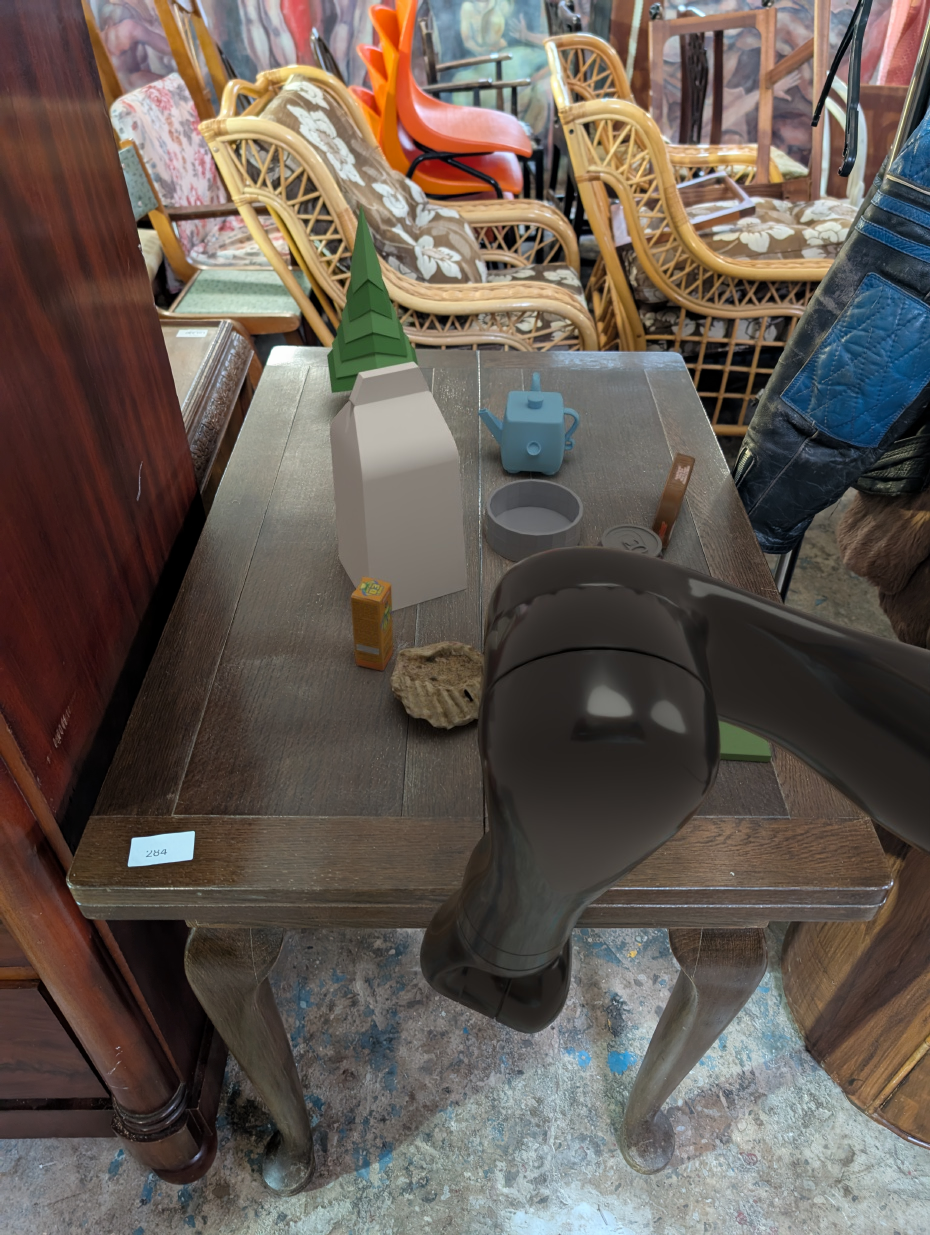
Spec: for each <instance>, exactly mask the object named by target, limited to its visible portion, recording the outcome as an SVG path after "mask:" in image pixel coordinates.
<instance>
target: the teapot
mask: <svg viewBox="0 0 930 1235" xmlns="http://www.w3.org/2000/svg"><path fill="white" fill-rule="evenodd" d="M529 388H530V389H529V390H511V391H509V393H508V395H507V400H506V404H505V409H504V414H503V418H502V420H500V419H499V418H498V417H497V416H496V415H494V413H493V412H491V410H489V409H488V407H486V408H481V409H478V412H477V414H478V416H479V417H480V419H481V421H482V422H483V424H484V426H486V428H487V429H488V431H489V432H490V434H491V435H492V437H493V438H494V440H495V441H496V443H497V445H499V446H500V447H499V448H500V459H501V463H502V467H503V469H504V470H505V471H506V472H508V473H510V474H518V473H520V472H521V471H522V472H541V474H543V475H546V476H552V475H554V474H556V473H557V472H559V471H560V469H561V467H562V464H563V460H564V454H565V451H571V450H572V449H574V447H575V445H576V442H575V441H576V440H575V439H574V437H573V438H572V436H573V435H574V434H575V433H576V431H577V429H578V428H579V425H580V423H581V422H580V421H581V418H580V415H579V414H578V412H577V411H576V410H575V409H573V408H570V407H564V399H563V395H562V394H561V393H560V392H555V391H554V392H553V391H542V389H541V375H540V373H539V372H536V371H535V372H534V373H533V374H532V377H531V383H530V387H529ZM565 415H568V416H570V417H572V418H573V419H574V420H573V423H572V425H571V427H570V428H569V429H568V430H567V432H566V419H565ZM567 442H569V443H568V444H567Z"/></svg>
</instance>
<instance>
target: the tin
mask: <svg viewBox="0 0 930 1235" xmlns="http://www.w3.org/2000/svg"><path fill="white" fill-rule="evenodd" d="M695 463H696V457H694V456H690V455H688V454H683V453H679V452H678V451H676V453H675V455H674V458H673V461H672V462H671V467H670V469H669V472H668V475H667V477H666V481H665V484H664V487H663V489H662V492H661V496H660V499H659V501H658V504H657V508H656V511H655V515H654V516H653V522H652V525H651V528H650V530H652V531H653V532H654V533H656V534H657V535H658V536H659V538H660V539H661V542H662V549H663V548H664V549H667V548H668V547H669V545H670V542H671V539H672V537H673V533H674V531H675V527H676V523H677V521H678V517H679V513H680V511H681V508H682V504H683V502H684V498H685V494H686V493H687V492H686V491H687V489H688V486H689V483H690V480H691V477H692V473H693V469H694V466H695Z"/></svg>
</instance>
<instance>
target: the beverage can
mask: <svg viewBox="0 0 930 1235" xmlns="http://www.w3.org/2000/svg"><path fill="white" fill-rule="evenodd" d="M596 546H602V547H613V548H621V549H626V550H631V551H636V552H640V553H644V554H648V555H651V556H654V557H658V558H661V559H664V554H663V552H662V549H663V547H662V542H661V539H660V538H659V536H658V535H657V534H656V533H654V532H653V531H652V530H651V528H648V527H646V526H642V525H639V524H634V523H621V524H615V525H613V526H610V527H608V528H607V529H605V530H604V531H603V533H602V534H601V538H600V541H599V542H598V544H597V545H596Z"/></svg>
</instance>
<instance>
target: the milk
mask: <svg viewBox="0 0 930 1235" xmlns="http://www.w3.org/2000/svg"><path fill="white" fill-rule="evenodd" d="M329 438H330V439H329V440H330V452H331V465H332V478H333V492H334V504H335V506H334V508H335V518H336V531H337V544H338V545H337V547H338V558H339V562H340V563H341V566H342V567H343V569H344V571H345V572H346V574H347V576H348V578H349V579H350V581H351V584H352V585H353V587H354V588H355V590H356V589H357V587H358V586H359V584H360V583H361V579H362V578H363V577H368V578H372V579H376V580H381V581H384V582H388V583H390V584H391V597H392V612H395V611H398V610H401V609H405V608H408V607H412V606H415V605H419V604H421V603H424V602H428V601H431V600H434V599H437V598H438V599H439V598H440V597H444V596H447V595H450V594H453V593H458V592H460V591H463V590H467V589H468V588H469V586H468V573H467V558H466V541H465V529H464V528H465V527H464V515H463V513H464V512H463V499H462V496H463V495H462V484H461V468H460V467H461V466H460V455H459V450H458V447H457V444H456V441H455V438H454V436H453V434H452V432H451V430H450V428H449V425H448V424H447V421H446V419H445V418H444V416H443V414H442V412H441V409H440V408H439V406H438V404H437V402H436V399H435V398H434V396H433V393H432V392H431V391H430V388H429V385H428V383H427V381H426V379H425V377H424V375H423V373H422V371H421V368H420V366H419V365H418V366H417V365H416V363H415V362H409V363H404V364H399V365H394V366H389V367H384V368H379V369H374V370H369V371H364V372H359V373H358V376H357V379H356V381H355V384H354V387H353V390H351V393H350V395H349V400H348V401H347V402H346V403H345V404H344V406H342V407H341V409H340V410H339V411H338V413H337V414H336V415H334V417H333V418H332V420H331V423H330V427H329Z"/></svg>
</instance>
